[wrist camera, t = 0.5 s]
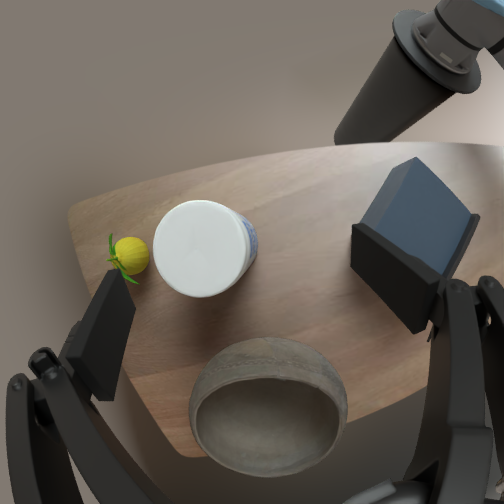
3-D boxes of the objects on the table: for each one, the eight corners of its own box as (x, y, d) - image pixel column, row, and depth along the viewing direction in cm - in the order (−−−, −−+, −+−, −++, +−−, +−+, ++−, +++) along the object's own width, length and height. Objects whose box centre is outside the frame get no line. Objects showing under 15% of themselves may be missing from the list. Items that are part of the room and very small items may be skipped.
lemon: (159, 276, 41) (128, 289, 31) (127, 274, 41) (92, 285, 31) (159, 233, 40) (127, 234, 30) (127, 232, 40) (91, 234, 30)
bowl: (191, 331, 41) (154, 377, 26) (323, 305, 39) (350, 346, 24) (225, 429, 42) (210, 487, 27) (337, 411, 40) (356, 468, 25)
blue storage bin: (392, 168, 37) (421, 153, 27) (445, 218, 36) (480, 217, 27) (350, 235, 38) (373, 237, 29) (409, 283, 38) (440, 296, 28)
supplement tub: (271, 243, 39) (271, 250, 24) (226, 289, 40) (201, 321, 25) (223, 196, 39) (195, 177, 24) (180, 243, 40) (133, 250, 25)
